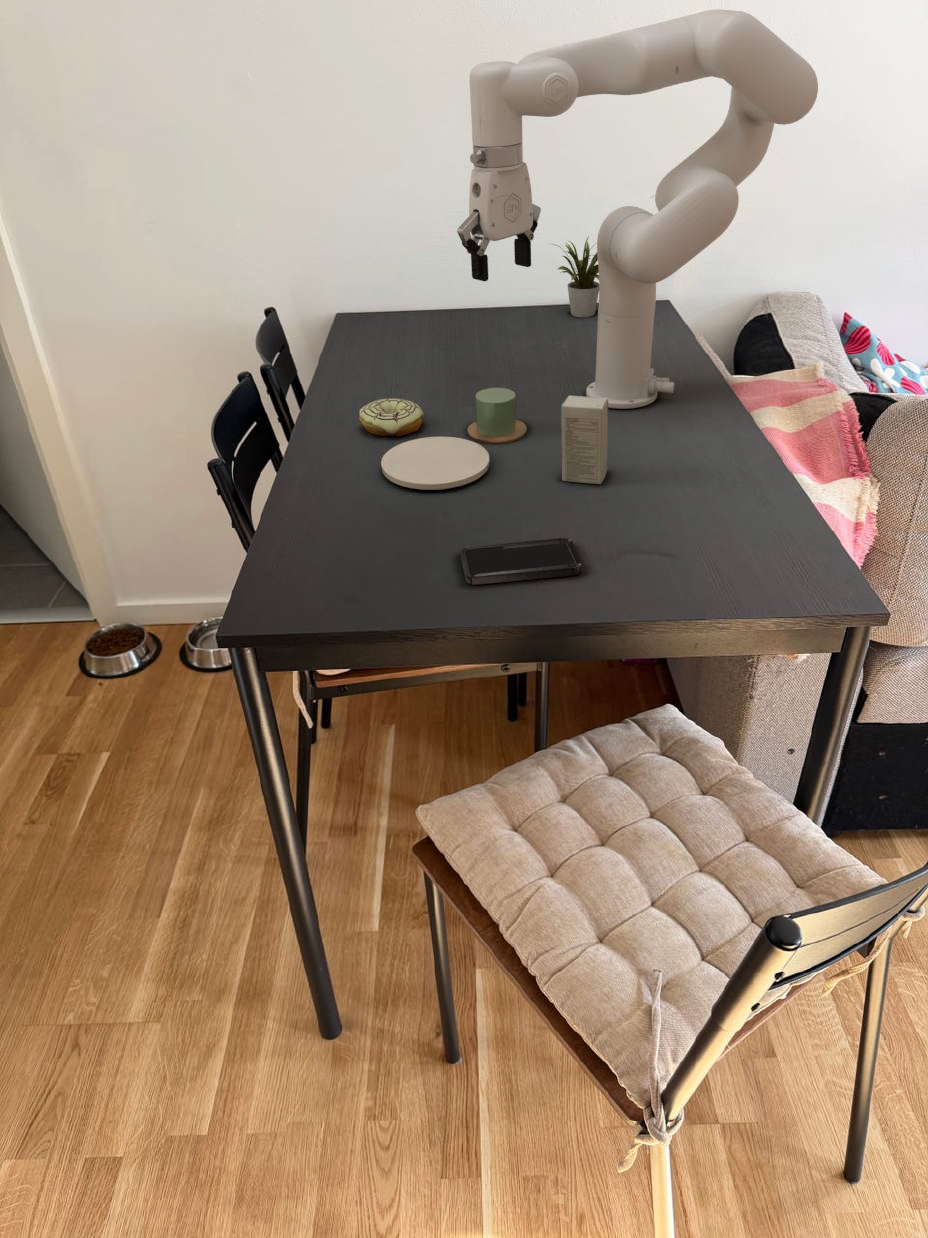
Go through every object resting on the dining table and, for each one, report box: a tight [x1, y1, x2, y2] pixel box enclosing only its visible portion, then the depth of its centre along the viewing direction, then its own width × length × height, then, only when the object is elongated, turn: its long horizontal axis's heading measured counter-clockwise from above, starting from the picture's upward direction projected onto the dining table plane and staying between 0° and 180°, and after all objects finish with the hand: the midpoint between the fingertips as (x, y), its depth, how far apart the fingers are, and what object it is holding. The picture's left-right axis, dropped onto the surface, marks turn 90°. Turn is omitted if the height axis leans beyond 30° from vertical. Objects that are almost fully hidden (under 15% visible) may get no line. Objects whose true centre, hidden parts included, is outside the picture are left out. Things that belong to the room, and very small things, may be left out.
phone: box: [460, 537, 582, 586], centre depth 124 cm, size 8×1×15 cm
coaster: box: [467, 419, 528, 444], centre depth 160 cm, size 10×10×1 cm
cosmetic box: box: [560, 394, 609, 485], centre depth 141 cm, size 6×4×12 cm
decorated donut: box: [359, 397, 425, 437], centre depth 162 cm, size 10×11×4 cm
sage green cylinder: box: [475, 387, 517, 437], centre depth 158 cm, size 7×7×6 cm
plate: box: [380, 436, 491, 491], centre depth 149 cm, size 17×17×2 cm
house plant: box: [547, 235, 599, 318], centre depth 205 cm, size 14×14×16 cm
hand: (502, 272), depth 153 cm, fingers open, 9 cm apart
